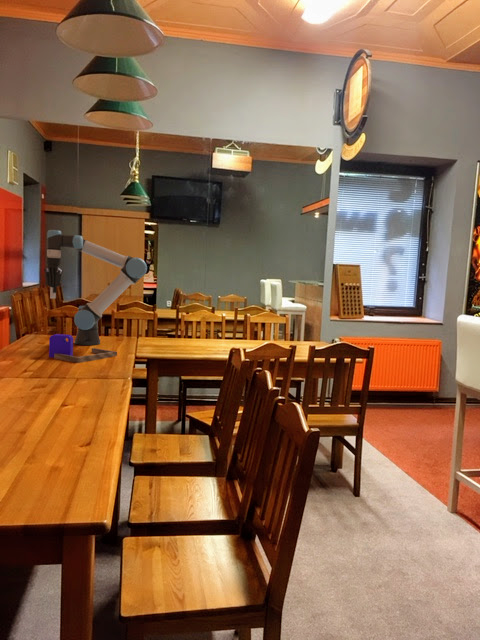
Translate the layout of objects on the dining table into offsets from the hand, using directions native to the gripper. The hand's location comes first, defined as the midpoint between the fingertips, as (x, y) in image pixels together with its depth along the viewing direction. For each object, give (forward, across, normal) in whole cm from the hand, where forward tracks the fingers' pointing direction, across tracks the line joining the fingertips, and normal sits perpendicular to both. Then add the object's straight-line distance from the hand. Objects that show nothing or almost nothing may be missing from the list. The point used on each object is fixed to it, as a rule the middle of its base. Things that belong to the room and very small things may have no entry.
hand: (52, 298), depth 297 cm
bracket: (+29, +25, -12) cm, 40 cm away
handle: (+28, +37, -10) cm, 48 cm away
